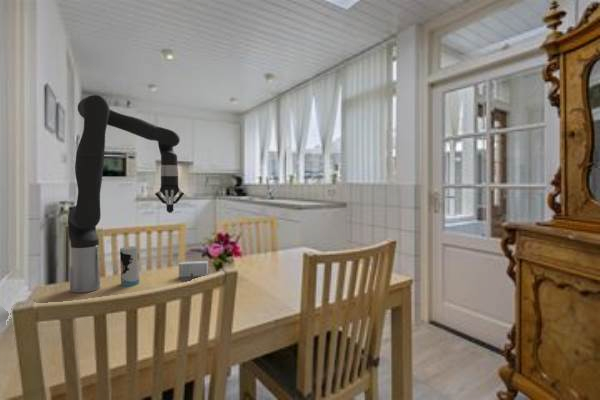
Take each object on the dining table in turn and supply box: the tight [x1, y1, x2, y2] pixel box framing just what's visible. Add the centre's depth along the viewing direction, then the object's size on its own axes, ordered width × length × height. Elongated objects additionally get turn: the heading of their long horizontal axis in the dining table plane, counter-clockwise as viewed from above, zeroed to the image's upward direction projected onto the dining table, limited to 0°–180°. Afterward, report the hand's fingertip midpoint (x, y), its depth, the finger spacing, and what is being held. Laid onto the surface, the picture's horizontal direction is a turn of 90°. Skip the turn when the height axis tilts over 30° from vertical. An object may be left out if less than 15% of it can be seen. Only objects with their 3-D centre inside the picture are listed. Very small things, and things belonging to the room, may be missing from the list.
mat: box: [180, 276, 201, 282], centre depth 150 cm, size 12×16×1 cm
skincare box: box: [178, 260, 209, 278], centre depth 148 cm, size 6×4×12 cm
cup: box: [119, 245, 140, 287], centre depth 137 cm, size 7×7×15 cm
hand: (170, 212), depth 154 cm, fingers closed
